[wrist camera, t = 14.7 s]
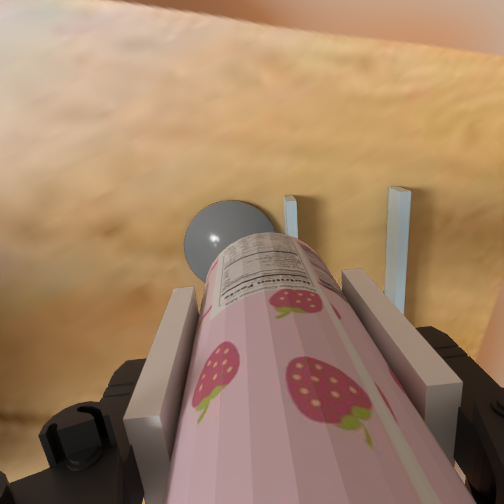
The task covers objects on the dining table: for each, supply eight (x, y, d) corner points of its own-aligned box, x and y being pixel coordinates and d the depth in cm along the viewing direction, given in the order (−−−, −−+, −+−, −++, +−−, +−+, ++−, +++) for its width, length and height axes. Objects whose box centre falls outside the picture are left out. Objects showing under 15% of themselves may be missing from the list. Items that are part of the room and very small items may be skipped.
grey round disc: (191, 291, 33) (190, 294, 33) (179, 204, 31) (177, 205, 30) (279, 284, 33) (280, 286, 33) (274, 196, 30) (275, 197, 30)
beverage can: (197, 334, 18) (32, 1197, 3) (215, 219, 16) (26, 1020, 2) (312, 349, 18) (584, 1154, 4) (341, 241, 16) (1029, 982, 2)
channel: (291, 358, 36) (294, 375, 33) (282, 195, 30) (286, 201, 28) (390, 351, 36) (400, 367, 33) (398, 186, 30) (411, 191, 28)
